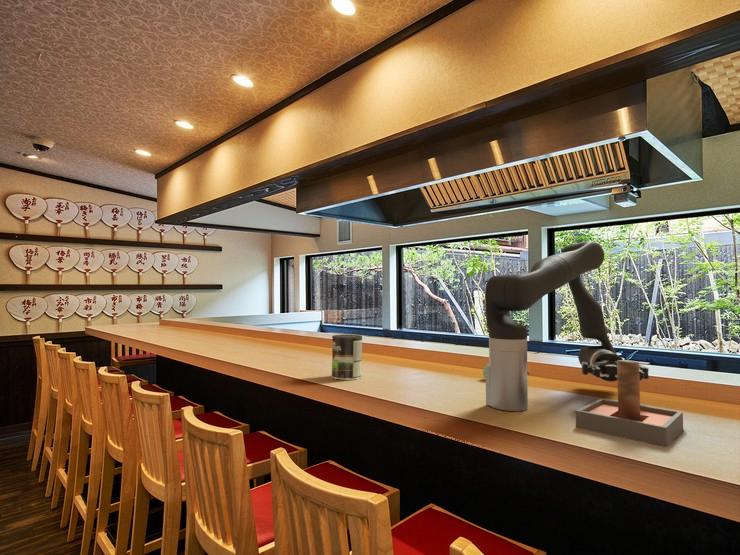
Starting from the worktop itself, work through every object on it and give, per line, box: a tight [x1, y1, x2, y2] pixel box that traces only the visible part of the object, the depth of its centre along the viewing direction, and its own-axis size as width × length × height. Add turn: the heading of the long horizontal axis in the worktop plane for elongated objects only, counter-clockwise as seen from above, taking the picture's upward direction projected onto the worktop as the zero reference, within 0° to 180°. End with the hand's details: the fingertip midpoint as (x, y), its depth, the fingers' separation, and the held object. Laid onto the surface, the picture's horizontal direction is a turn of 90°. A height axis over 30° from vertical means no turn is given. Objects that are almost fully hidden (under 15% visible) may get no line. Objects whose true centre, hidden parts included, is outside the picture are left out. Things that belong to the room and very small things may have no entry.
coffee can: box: [331, 334, 363, 381], centre depth 142 cm, size 10×10×14 cm
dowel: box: [617, 359, 641, 422], centre depth 89 cm, size 4×4×14 cm
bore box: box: [575, 398, 684, 448], centre depth 89 cm, size 16×16×4 cm
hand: (618, 374), depth 99 cm, fingers open, 8 cm apart
